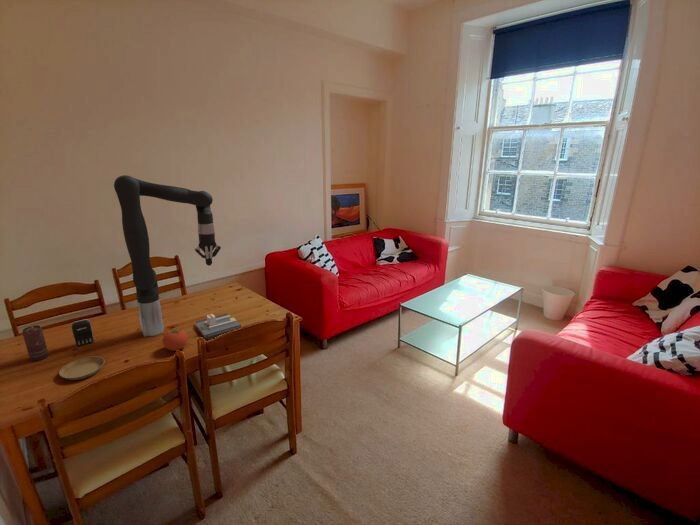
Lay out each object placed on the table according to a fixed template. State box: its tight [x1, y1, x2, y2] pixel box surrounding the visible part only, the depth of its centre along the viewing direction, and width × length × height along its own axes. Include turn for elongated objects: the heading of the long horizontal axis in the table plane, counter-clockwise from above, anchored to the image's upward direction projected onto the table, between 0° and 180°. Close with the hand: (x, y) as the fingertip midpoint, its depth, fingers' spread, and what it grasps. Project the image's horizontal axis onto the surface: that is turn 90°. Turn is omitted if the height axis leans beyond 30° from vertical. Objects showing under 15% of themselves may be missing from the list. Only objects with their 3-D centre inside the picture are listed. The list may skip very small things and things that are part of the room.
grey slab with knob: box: [195, 313, 242, 341], centre depth 178 cm, size 16×19×2 cm
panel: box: [194, 313, 242, 339], centre depth 178 cm, size 18×15×3 cm
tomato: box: [162, 328, 189, 352], centre depth 157 cm, size 10×10×10 cm
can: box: [21, 325, 49, 362], centre depth 147 cm, size 6×6×14 cm
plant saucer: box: [58, 355, 105, 381], centre depth 141 cm, size 15×15×3 cm
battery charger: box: [71, 318, 95, 347], centre depth 159 cm, size 7×4×11 cm, turn 130°
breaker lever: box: [206, 313, 216, 327], centre depth 175 cm, size 3×4×5 cm
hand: (209, 265), depth 179 cm, fingers closed
